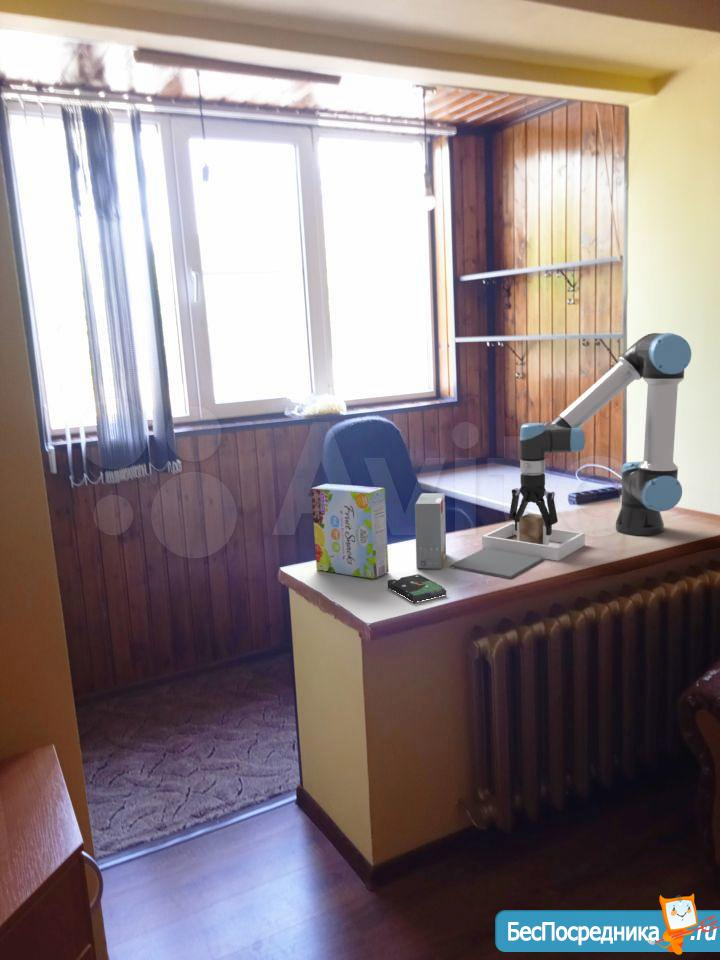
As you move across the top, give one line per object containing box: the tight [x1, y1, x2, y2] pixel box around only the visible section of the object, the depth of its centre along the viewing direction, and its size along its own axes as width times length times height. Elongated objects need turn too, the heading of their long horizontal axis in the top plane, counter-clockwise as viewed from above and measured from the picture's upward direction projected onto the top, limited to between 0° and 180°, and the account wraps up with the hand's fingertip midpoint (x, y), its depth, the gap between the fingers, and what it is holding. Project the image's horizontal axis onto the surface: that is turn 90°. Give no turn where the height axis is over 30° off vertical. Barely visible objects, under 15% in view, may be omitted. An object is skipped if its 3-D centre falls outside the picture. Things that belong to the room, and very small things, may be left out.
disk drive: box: [386, 573, 447, 602], centre depth 207 cm, size 10×3×15 cm
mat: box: [449, 548, 544, 580], centre depth 227 cm, size 20×20×1 cm
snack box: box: [310, 483, 390, 580], centre depth 225 cm, size 22×9×26 cm, turn 56°
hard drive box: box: [414, 492, 447, 570], centre depth 231 cm, size 16×8×20 cm, turn 168°
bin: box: [481, 522, 586, 562], centre depth 242 cm, size 26×19×4 cm
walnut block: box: [520, 512, 545, 545], centre depth 241 cm, size 6×6×10 cm
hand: (533, 542), depth 242 cm, fingers open, 8 cm apart
